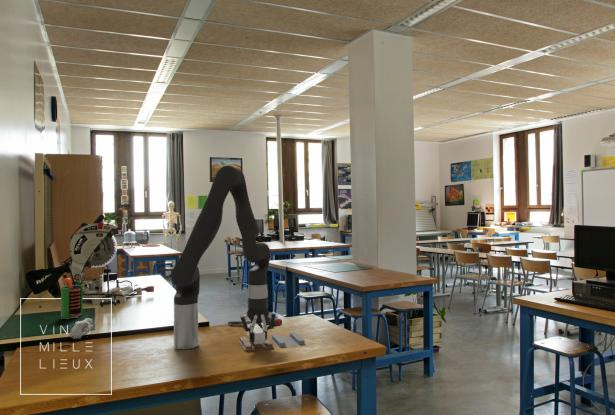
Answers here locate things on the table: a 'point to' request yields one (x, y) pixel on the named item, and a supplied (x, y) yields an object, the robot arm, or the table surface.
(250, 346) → the cradle
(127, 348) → the table surface
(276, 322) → the valve
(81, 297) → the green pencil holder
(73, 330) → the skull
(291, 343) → the grey channel bracket
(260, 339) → the block
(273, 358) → the table surface
